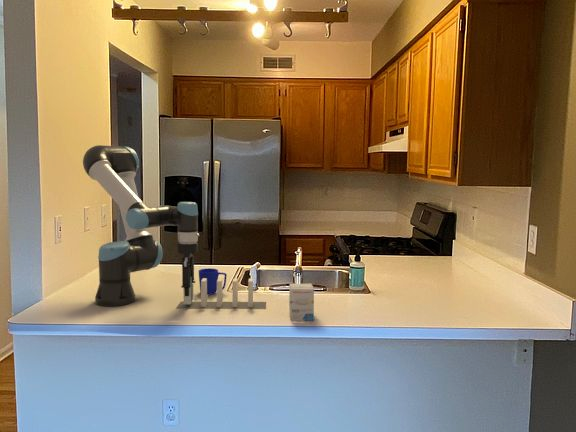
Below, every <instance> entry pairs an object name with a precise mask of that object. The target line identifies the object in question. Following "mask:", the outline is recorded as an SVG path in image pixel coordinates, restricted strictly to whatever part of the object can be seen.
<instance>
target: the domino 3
mask: <svg viewBox="0 0 576 432" xmlns="http://www.w3.org/2000/svg"><path fill="white" fill-rule="evenodd" d="M238 282H239V281H238V278H233V279H232V302H233V307H237V304H238V302H239V297H238V296H239V295H238V294H239V292H238V291H239V289H238V288H239V286H238V284H239V283H238Z"/></svg>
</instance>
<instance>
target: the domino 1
mask: <svg viewBox="0 0 576 432" xmlns="http://www.w3.org/2000/svg"><path fill="white" fill-rule="evenodd" d="M200 302H201V307H206V305H207V302H208V294H207V278H203V279H202V280H201V292H200Z"/></svg>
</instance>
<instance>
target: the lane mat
mask: <svg viewBox="0 0 576 432" xmlns="http://www.w3.org/2000/svg"><path fill="white" fill-rule="evenodd" d="M175 309H177V310H188V309H189V310H190V309H191V310H199V309H200V310H202V309H203V310H239V309H240V310H266V309H267V301H253V306H252V307H248V301H238V304H237V307H233V301H222V306H221V307H217V301H207V305H206V307H201V301H192V302H191V304H190V305H186V304H184V301H183V300H182V301H179V303H178V304H177V306H176V308H175Z"/></svg>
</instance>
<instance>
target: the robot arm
mask: <svg viewBox="0 0 576 432" xmlns="http://www.w3.org/2000/svg"><path fill="white" fill-rule="evenodd" d="M82 165H83V166H82V167H83V169H84V172H85V173H86V174H87V176H88V177H89V178H90V179H91V180H93V181H96V182H97V183H98V184H99V185H100V186H101V188H102V189H103V190H105V192H106V193H107V194H108V195H109V196H110V197H111V198H112V200H113V201H114V202H115V203H116V204H117V206H118V207H119V211H120V215H121V220H122V222H123V226H124V230H125V234H126V238H125V240H118V241H112V242H107V243H105V244H102V245H101V246H100V247H99V249H98V256H97V258H98V277H99V281H98V282H99V284H98V287H97V291H96V294H95V297H94V303H95V305H97V306H101V307H120V306H126V305H130V304H132V303H134V302H135V301H136V294H135V291H134V288H133V285H132V282H131V273H136V272H141V271H148V270H150V269H154V268H156V267H158V266H159V265H160V263H161V261H162V259H163V248H162V245H161V243H160V242H159V241H158V240H156V239H154V237H153V236H154V235H153V234H152V233H150V232H149V231H148V228H149V229H150V228H156V227H157V228H158V227H165V226H175V227H177V242H178V244H177V252H178V254H181V255H182V254H183V257H182V259H181V269H182V273H181V274H182V276H181V278H182V280H181V281H182V283H181V288H183V302H184V304H191V287H190V277H192V301H194V284H196V280H195V256H194V255H193V254H197V253H198V252H199V243H198V241H199V237H200V233H199V222H198V221H199V220H198V219H199V211H198V209H199V208H198V203H196V202H195V201H194V202H193V201H179V202H178V203H177V206H175V205H174V206H172V205H167V204H165V205H159V206H154V207H153V206H152V207H151V206H150V207H148V206H147V205H146V204H145V203H144V202H143V200H141V198H140V196H139V193H138V190H137V189H138V188H137V186H136V183H135V177H136V175H137V172H138V169H139V165H140V160H139V157H138V154H137V152H136V151H135V149H133V148H131V147H130V146H124V145H101V144H99V145H94V146H92V147H90V148H88V149H87V150H86V151H85V153H84V155H83V159H82Z"/></svg>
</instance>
